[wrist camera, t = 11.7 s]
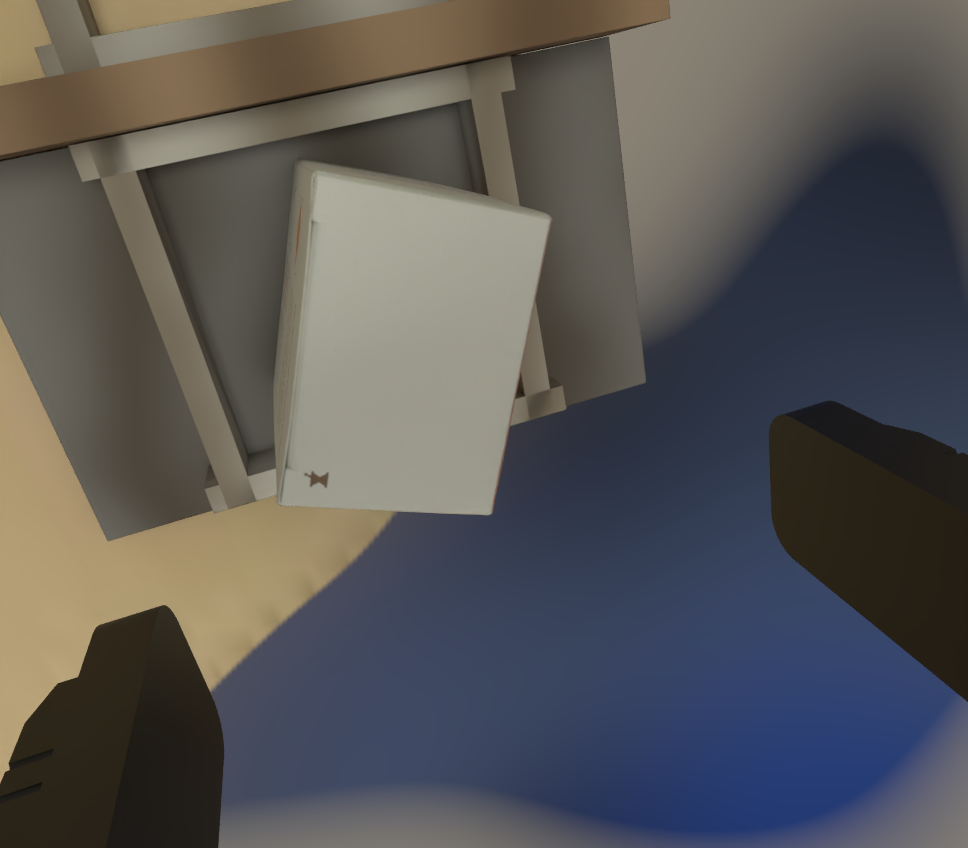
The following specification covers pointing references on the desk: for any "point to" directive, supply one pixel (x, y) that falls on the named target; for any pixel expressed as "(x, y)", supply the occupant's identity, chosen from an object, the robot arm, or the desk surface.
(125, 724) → the robot arm
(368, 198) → the small box
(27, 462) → the desk surface
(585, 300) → the door edge frame
